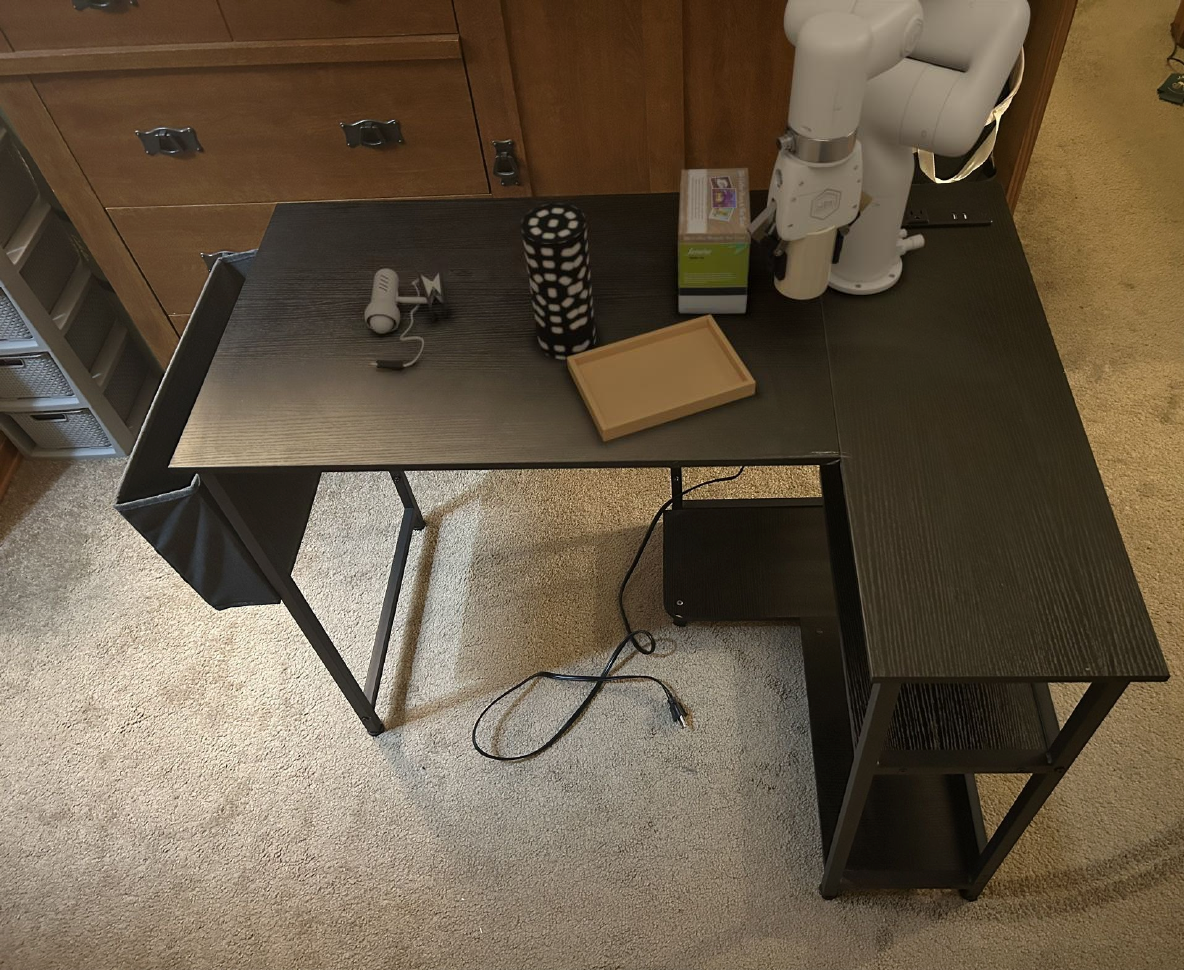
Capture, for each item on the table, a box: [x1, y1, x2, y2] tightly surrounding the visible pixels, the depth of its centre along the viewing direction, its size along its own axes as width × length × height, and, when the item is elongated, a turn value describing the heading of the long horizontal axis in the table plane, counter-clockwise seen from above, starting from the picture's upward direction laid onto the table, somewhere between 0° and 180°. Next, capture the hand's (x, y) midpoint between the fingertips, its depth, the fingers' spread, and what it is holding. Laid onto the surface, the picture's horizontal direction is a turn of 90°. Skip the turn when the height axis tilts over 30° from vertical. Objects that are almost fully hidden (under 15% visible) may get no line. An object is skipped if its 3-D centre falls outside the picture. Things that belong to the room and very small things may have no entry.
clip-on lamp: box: [364, 267, 449, 371], centre depth 134 cm, size 12×6×18 cm
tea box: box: [677, 167, 752, 315], centre depth 132 cm, size 15×10×15 cm, turn 175°
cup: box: [773, 225, 838, 301], centre depth 113 cm, size 7×7×10 cm
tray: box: [566, 313, 757, 442], centre depth 125 cm, size 22×15×2 cm
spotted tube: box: [520, 202, 597, 360], centre depth 125 cm, size 8×8×20 cm
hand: (803, 264), depth 115 cm, fingers closed on cup, 6 cm apart
